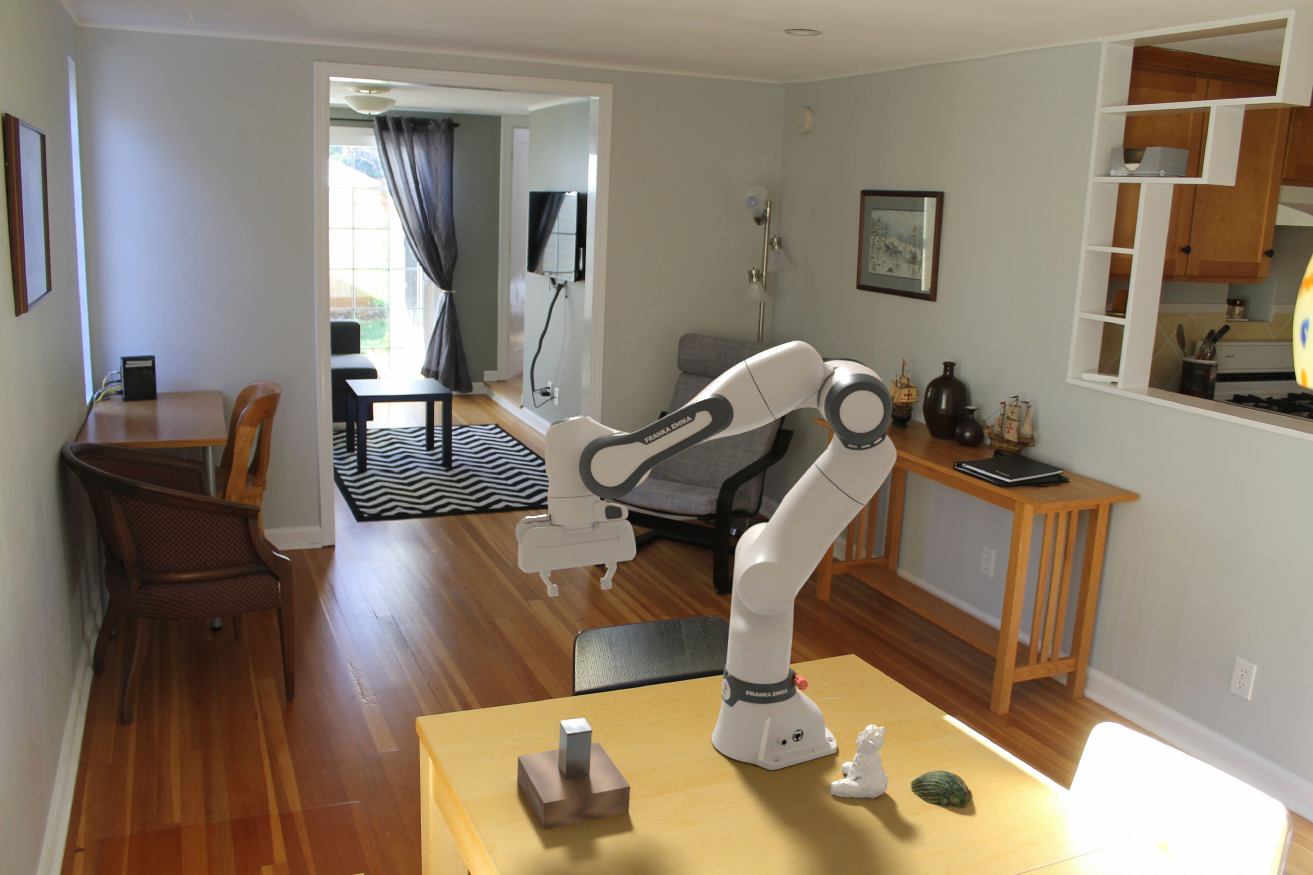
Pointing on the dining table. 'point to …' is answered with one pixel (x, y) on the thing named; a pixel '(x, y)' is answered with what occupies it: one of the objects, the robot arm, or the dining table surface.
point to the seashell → (942, 789)
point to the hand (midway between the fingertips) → (580, 592)
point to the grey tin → (575, 748)
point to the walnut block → (572, 789)
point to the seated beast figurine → (864, 768)
